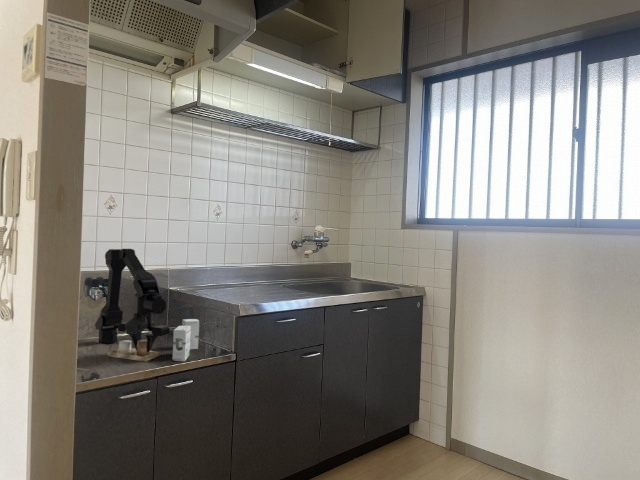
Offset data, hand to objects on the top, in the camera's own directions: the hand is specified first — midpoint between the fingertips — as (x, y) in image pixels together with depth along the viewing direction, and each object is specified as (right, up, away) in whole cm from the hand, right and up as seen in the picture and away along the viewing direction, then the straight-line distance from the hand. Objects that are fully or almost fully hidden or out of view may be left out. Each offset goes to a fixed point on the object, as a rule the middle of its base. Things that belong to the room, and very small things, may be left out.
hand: (142, 351), depth 184 cm
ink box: (+13, -4, +4) cm, 14 cm away
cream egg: (-8, -2, +2) cm, 8 cm away
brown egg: (0, -1, 0) cm, 1 cm away
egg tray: (-4, -3, +1) cm, 5 cm away
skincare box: (+13, -3, +17) cm, 22 cm away
